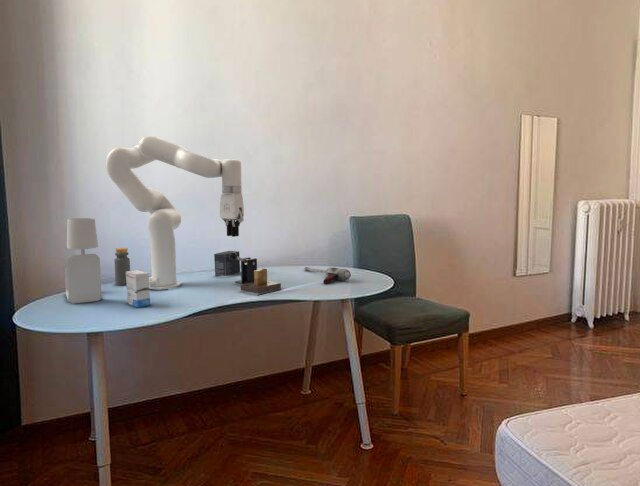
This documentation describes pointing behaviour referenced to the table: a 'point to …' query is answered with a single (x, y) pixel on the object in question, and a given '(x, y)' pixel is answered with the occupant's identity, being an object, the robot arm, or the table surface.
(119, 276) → the bottle
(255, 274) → the thumbturn
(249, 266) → the handle bracket
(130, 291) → the ink box
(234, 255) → the door lever
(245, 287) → the lock plate
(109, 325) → the table surface
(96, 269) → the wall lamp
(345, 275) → the grey pistol
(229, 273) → the box
